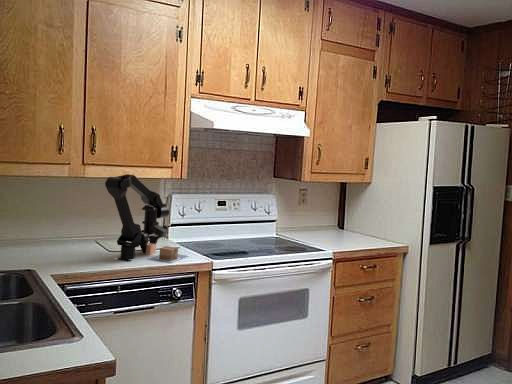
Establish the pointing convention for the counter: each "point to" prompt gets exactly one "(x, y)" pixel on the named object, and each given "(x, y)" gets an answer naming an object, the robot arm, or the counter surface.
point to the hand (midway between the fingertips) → (148, 252)
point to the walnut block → (168, 253)
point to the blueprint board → (167, 260)
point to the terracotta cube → (150, 249)
